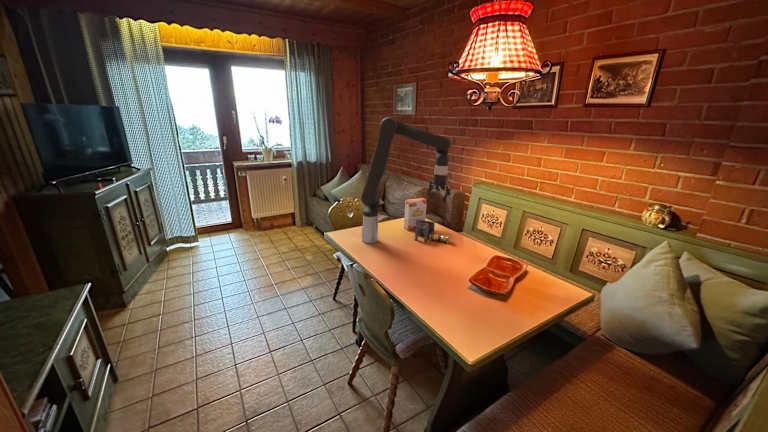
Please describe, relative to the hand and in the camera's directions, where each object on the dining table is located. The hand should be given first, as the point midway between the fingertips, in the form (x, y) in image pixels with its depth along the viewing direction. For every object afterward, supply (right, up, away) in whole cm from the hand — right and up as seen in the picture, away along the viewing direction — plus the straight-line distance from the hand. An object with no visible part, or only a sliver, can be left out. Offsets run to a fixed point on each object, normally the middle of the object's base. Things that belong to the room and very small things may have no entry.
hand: (438, 200), depth 173 cm
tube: (+3, -25, +14) cm, 29 cm away
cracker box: (-10, -18, +35) cm, 41 cm away
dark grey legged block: (-7, -24, +18) cm, 30 cm away
